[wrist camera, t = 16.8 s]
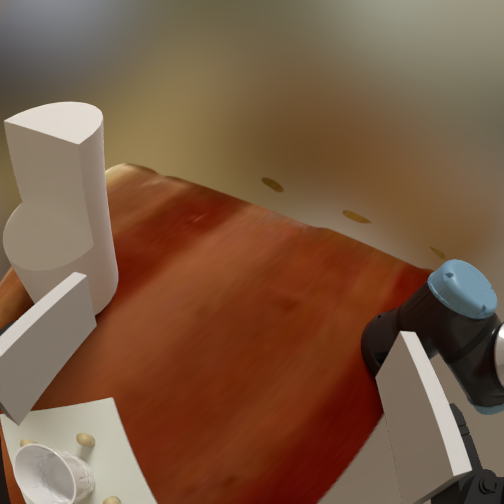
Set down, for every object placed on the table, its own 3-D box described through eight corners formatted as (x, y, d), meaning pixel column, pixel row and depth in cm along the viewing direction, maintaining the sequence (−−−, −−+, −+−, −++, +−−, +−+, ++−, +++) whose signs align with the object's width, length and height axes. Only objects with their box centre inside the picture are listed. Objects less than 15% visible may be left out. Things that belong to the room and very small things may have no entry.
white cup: (84, 444, 25) (57, 437, 18) (110, 495, 22) (89, 506, 15) (39, 454, 22) (3, 448, 14) (62, 504, 18) (31, 513, 11)
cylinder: (71, 230, 49) (50, 96, 28) (136, 266, 48) (133, 114, 28) (15, 290, 37) (-46, 155, 16) (81, 342, 36) (9, 194, 16)
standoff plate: (170, 525, 22) (169, 532, 19) (46, 537, 12) (35, 542, 10) (113, 398, 32) (107, 392, 29) (2, 415, 23) (-11, 409, 20)
